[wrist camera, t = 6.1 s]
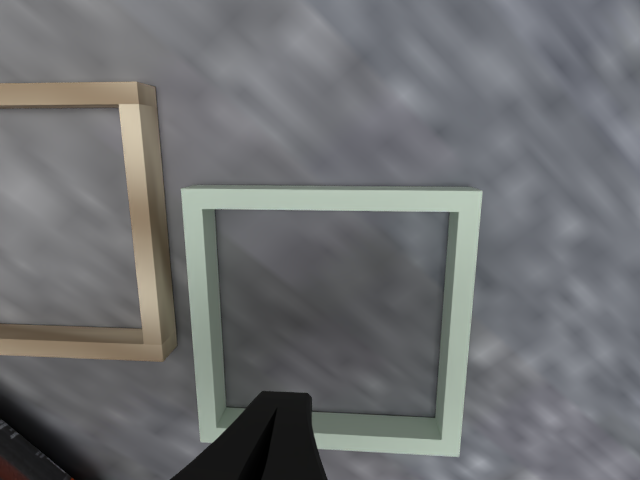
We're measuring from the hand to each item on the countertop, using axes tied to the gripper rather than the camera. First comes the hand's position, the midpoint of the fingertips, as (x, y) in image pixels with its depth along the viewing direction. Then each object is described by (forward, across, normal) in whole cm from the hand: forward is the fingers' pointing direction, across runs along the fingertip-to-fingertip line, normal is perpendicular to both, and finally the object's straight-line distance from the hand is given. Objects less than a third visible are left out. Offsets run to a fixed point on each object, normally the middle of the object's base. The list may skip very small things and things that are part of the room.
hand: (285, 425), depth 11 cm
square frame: (+8, -1, 0) cm, 8 cm away
